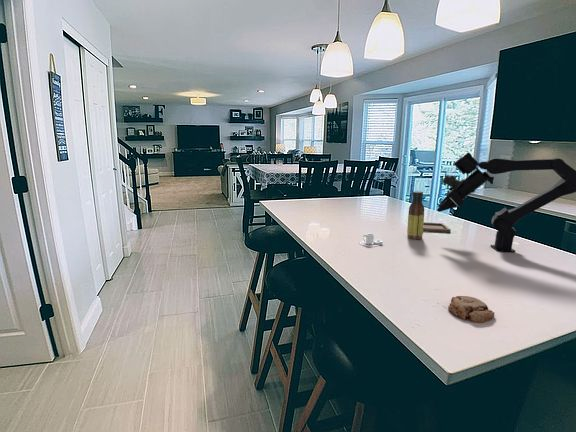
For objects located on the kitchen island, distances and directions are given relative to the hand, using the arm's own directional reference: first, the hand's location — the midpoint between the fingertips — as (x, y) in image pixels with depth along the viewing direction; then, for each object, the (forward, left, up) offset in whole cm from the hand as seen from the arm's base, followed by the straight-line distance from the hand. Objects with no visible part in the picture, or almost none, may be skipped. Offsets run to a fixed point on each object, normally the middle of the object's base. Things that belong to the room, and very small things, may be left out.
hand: (438, 208), depth 138 cm
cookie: (-62, +8, -14) cm, 64 cm away
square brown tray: (+20, -4, -13) cm, 24 cm away
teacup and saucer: (-13, +26, -14) cm, 32 cm away
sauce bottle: (+2, +8, -14) cm, 16 cm away
